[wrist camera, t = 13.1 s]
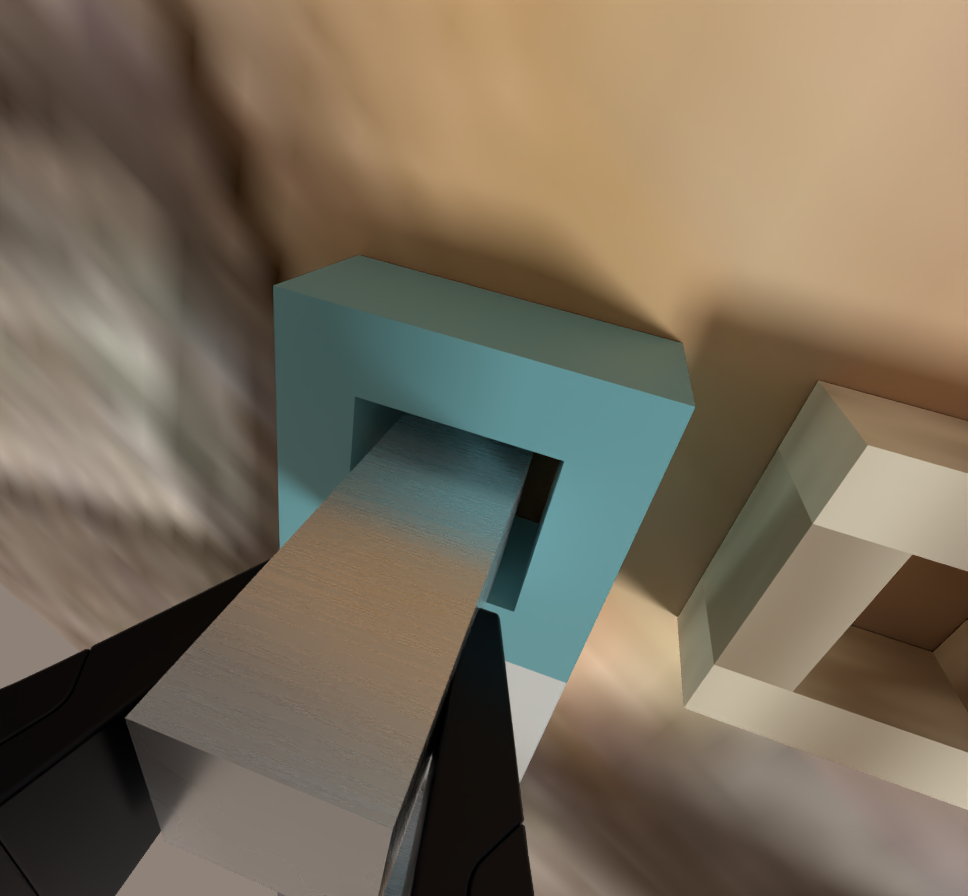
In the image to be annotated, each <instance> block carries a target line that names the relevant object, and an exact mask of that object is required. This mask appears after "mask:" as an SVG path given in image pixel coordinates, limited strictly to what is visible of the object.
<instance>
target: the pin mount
mask: <svg viewBox="0 0 968 896" xmlns="http://www.w3.org/2000/svg"><path fill="white" fill-rule="evenodd" d="M912 554H913V555H916V556H919V557H922V558H926V559H929V560H932V561H935V562H939V563H942V564H945V565H948V566H952V567H955V568H958V569H961V570H965V571H968V421H965V420H962V419H958V418H954V417H951V416H947V415H943V414H940V413H936V412H932V411H929V410H925V409H921V408H918V407H914V406H910V405H907V404H903V403H899V402H896V401H892V400H889V399H885V398H881V397H878V396H874V395H870V394H867V393H863V392H859V391H856V390H852V389H848V388H845V387H841V386H837V385H834V384H830V383H826V382H823V381H819V380H818V382H817V384H816V385H815V387H814V389H813V390H812V392H811V394H810V395H809V397H808V399H807V400H806V402H805V404H804V405H803V407H802V409H801V411H800V412H799V414H798V416H797V417H796V419H795V421H794V422H793V424H792V426H791V427H790V429H789V431H788V432H787V434H786V436H785V438H784V439H783V441H782V443H781V444H780V446H779V448H778V449H777V451H776V453H775V454H774V456H773V458H772V459H771V461H770V463H769V465H768V466H767V468H766V470H765V471H764V473H763V475H762V476H761V478H760V480H759V481H758V483H757V485H756V486H755V488H754V490H753V492H752V493H751V495H750V497H749V498H748V500H747V502H746V503H745V505H744V507H743V508H742V510H741V512H740V513H739V515H738V517H737V519H736V520H735V522H734V524H733V525H732V527H731V529H730V530H729V532H728V534H727V535H726V537H725V539H724V540H723V542H722V544H721V546H720V547H719V549H718V551H717V552H716V554H715V556H714V557H713V559H712V561H711V562H710V564H709V566H708V567H707V569H706V571H705V573H704V574H703V576H702V578H701V579H700V581H699V583H698V584H697V586H696V588H695V589H694V591H693V593H692V594H691V596H690V598H689V600H688V601H687V603H686V605H685V606H684V608H683V610H682V611H681V613H680V615H679V616H678V618H677V621H678V634H679V648H680V662H681V676H682V690H683V703H684V708H685V709H688V710H691V711H694V712H697V713H699V714H702V715H705V716H708V717H711V718H713V719H716V720H719V721H722V722H724V723H727V724H730V725H733V726H736V727H738V728H741V729H744V730H747V731H750V732H752V733H755V734H758V735H761V736H763V737H766V738H769V739H772V740H775V741H777V742H780V743H783V744H786V745H788V746H791V747H794V748H797V749H800V750H802V751H805V752H808V753H811V754H814V755H816V756H819V757H822V758H825V759H827V760H830V761H833V762H836V763H839V764H841V765H844V766H847V767H850V768H853V769H855V770H858V771H861V772H864V773H866V774H869V775H872V776H875V777H878V778H880V779H883V780H886V781H889V782H891V783H894V784H897V785H900V786H903V787H905V788H908V789H911V790H914V791H917V792H919V793H922V794H925V795H928V796H930V797H933V798H936V799H939V800H942V801H944V802H947V803H950V804H953V805H955V806H958V807H961V808H964V809H967V810H968V619H967V620H966V621H965V622H964V623H963V624H962V625H961V626H960V627H959V628H958V629H957V630H956V631H955V632H954V633H953V634H952V635H950V636H949V637H948V638H947V639H946V640H945V641H944V642H943V643H942V644H941V645H940V646H939V647H938V648H937V649H936V650H935V651H934V652H931V651H927V650H924V649H921V648H918V647H915V646H912V645H909V644H906V643H903V642H900V641H897V640H894V639H891V638H888V637H885V636H882V635H879V634H875V633H872V632H869V631H866V630H863V629H860V628H857V627H854V626H851V624H852V623H853V622H854V621H855V620H856V618H857V617H858V616H859V615H860V614H861V613H862V612H863V610H864V609H865V608H866V607H867V606H868V605H869V604H870V602H871V601H872V600H873V599H874V598H875V597H876V596H877V594H878V593H879V592H880V591H881V590H882V589H883V587H884V586H885V585H886V584H887V583H888V582H889V581H890V579H891V578H892V577H893V576H894V575H895V574H896V573H897V571H898V570H899V569H900V568H901V567H902V566H903V565H904V563H905V562H906V561H907V560H908V559H909V558H910V557H911V555H912Z"/></svg>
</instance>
